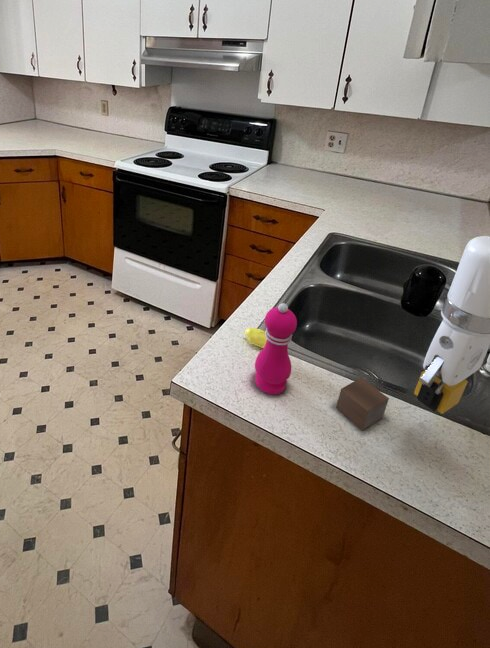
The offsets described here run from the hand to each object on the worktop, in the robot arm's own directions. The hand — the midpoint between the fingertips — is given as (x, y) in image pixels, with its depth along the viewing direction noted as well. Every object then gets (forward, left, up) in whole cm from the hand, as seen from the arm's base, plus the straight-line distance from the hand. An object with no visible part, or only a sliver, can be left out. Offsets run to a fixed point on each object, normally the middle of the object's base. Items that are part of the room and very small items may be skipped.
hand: (436, 397), depth 74 cm
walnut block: (+6, -9, -9) cm, 14 cm away
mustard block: (0, 0, 0) cm, 0 cm away
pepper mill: (+16, -23, -10) cm, 29 cm away
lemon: (+10, -33, -10) cm, 36 cm away
